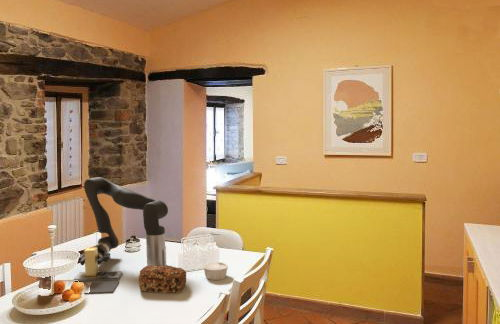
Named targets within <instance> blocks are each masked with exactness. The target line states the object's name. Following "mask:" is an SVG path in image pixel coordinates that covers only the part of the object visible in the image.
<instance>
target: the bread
mask: <svg viewBox="0 0 500 324" xmlns="http://www.w3.org/2000/svg"><path fill="white" fill-rule="evenodd" d="M186 284H187V271H186V270H185V269H183V268H182V267H176V266H172V265H166V266H164V265H163V266H159V265H158V266H153V265H150V266H147V265H146V266H144V267H143V268H142V269H141V270H139V275H138V287H139V291H140V292H141V291H142V292H148V293H149V292H150V293H161V294H162V293H163V294H169V293H175V294H179V293H181V292H182V290H183V289H184V288H185V287H186Z"/></svg>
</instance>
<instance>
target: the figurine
mask: <svg viewBox="0 0 500 324" xmlns="http://www.w3.org/2000/svg"><path fill="white" fill-rule="evenodd" d="M54 278H55V275H54ZM54 282H55V280H54ZM55 283H56V282H55ZM38 287H39V288H43V289H48V290H50V289H51V276H49V277H45V278H40V277H39V281H38ZM38 287H37V288H38Z"/></svg>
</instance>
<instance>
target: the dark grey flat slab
mask: <svg viewBox="0 0 500 324" xmlns="http://www.w3.org/2000/svg"><path fill="white" fill-rule="evenodd" d="M98 272H99V275H98V277H86V273H85V271H80V272H78V274H77V275H76V276H75V277H74V278H73V281H74V280H78V281H84V283H85V282H86V283H87V282H89V283H90V282H110V281H120V278H121V277H122V275H123V272H124V271H123V270H107V271H106V270H105V271H104V270H100V271H99V270H98Z"/></svg>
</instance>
